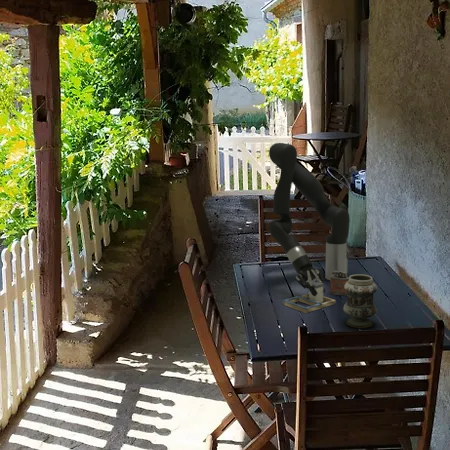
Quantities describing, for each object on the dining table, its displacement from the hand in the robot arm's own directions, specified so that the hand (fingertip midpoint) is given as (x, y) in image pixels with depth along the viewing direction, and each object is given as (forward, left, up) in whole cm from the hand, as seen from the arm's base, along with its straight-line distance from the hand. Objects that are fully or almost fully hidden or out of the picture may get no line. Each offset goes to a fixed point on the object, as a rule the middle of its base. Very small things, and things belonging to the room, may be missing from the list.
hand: (319, 293), depth 257 cm
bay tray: (+4, -2, -4) cm, 6 cm away
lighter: (-15, -3, -4) cm, 16 cm away
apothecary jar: (+5, +25, -4) cm, 26 cm away
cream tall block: (0, -2, -4) cm, 5 cm away
